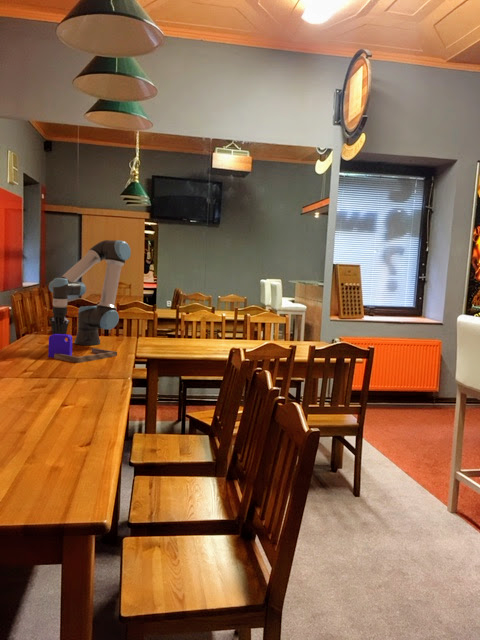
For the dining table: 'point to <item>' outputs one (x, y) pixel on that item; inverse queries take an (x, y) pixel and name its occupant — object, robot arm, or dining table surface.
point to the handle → (100, 355)
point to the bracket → (60, 344)
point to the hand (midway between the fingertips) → (58, 349)
